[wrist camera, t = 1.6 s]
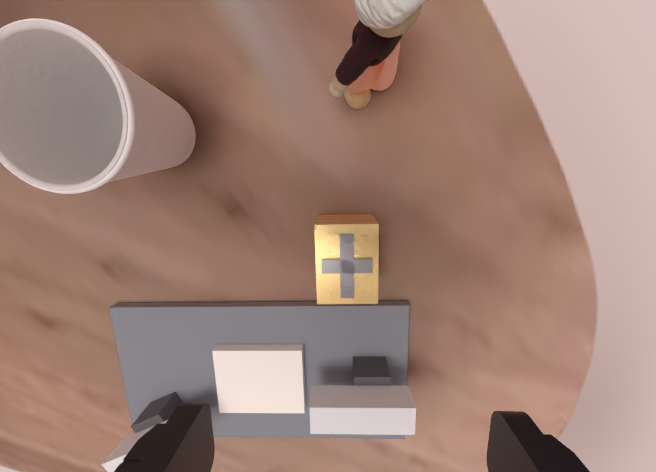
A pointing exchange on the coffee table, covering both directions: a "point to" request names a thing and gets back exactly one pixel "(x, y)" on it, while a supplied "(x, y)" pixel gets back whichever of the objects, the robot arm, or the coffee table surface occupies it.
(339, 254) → the yellow plus-sign block
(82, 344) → the coffee table surface
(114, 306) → the lever control panel
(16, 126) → the dixie cup
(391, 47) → the grandmother figurine
